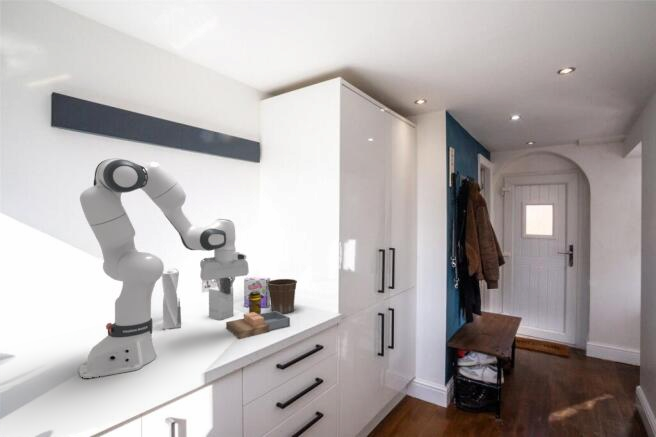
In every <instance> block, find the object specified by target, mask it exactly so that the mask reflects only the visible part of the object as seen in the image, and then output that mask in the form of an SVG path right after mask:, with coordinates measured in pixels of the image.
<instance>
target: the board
mask: <svg viewBox="0 0 656 437" xmlns="http://www.w3.org/2000/svg"><path fill="white" fill-rule="evenodd" d="M225 323H226V324H225V329H226V330H228V331H229V332H230V333H231V334H233V335H234V336H235V338H237V339H238V340H240V339H245V338H250V337H254V336H258V335H262V333H263V334H266V332H267V333H270V331H269V325H268V324H267V323H265V322H264V324H263V325H259V326H254V327H253V326H252V325H250V324H249V323H247V322H246V321H244V318H240V319H234V320H230V321H229V320H228V321H226V322H225Z"/></svg>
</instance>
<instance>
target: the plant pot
mask: <svg viewBox="0 0 656 437" xmlns="http://www.w3.org/2000/svg"><path fill="white" fill-rule="evenodd" d="M297 283H298V280H297V279H293V278H278V279H272V280H271V279H270V281H268V282H267V284H268V288H269V292H270V309H271V311H270V312H273V311H277V312H279V313H281V314H283V315H285V314H289V313H292V312H294V309H295V297H296V288H297Z"/></svg>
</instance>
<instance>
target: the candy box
mask: <svg viewBox="0 0 656 437" xmlns="http://www.w3.org/2000/svg"><path fill="white" fill-rule="evenodd" d="M268 281H271V277H261V276H259V277H257V276H256V277H255V276H247V277H245V278H244V282H243V283H244V285H243V286H244V287H243V288H244V291H243V293H244V294H243V295H244V298H243V299H244V302H243V303H244V304H243V305H244V308H249V298H250V293H251V292H260V297H261V309H262V308H263V309H267V308H269V307H271V301H270V292H269V288H268V284H267V282H268Z"/></svg>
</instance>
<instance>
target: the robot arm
mask: <svg viewBox="0 0 656 437" xmlns="http://www.w3.org/2000/svg"><path fill="white" fill-rule="evenodd" d="M94 170H95V171H94V180H93V186H91V187H88V188H86V189H85V190H83V192H82V193H80V196H79V201H80V206H81V209H82V211H83V214H84V217H85V219H86V222H87V223H88V225H89V227H90V228H91V230H92V233H93V235H94V236H95V238H96V240H97V242H98V244H99V246H100V249H101V253H102V257H103V262H102V263H103V264H102V269H103V272H104V273H105V275H106V276H107V277H109V278H111V279H112V280H115V281H117V282H118V281H119V282H122V286H121V291H120V293H119V296H118V297H117V298H116V299H115V302H114V322H113V323H112V322H108V323H107V324H106V325H105V328H106V330H107V335H106V336H105V337H104V338H103V339H102V340H101V341H99V342H98V343H96V344H95V345H94V346H93V347H92V348H91V350H90V351H89V354H88V358H87V360H86V361H84V362H83V363H81V365H80V367H79V371H78V374H80V375H79V376H81V377H80V378H82V377H83V378H82V379H84V378H89V379H93V378H92V377H95V378H100V377H106V376H110V375H116V374H122V373H126V372H127V373H128V372H132V371H138V370H140V369H141V368H143V367H144V366H145V365H148V364H149V363H151V362H153V361H155V359H156V358H157V353H156V352H155V347H154V343H153V337H152V335H153V331H154V330H153V322H154V321H153V318H152V297H153V291H154V288H155V284H156V282H157V281H159V279H160V278H162V274H163V273H164V272H163V271H165V270H164V269H165V266H164V262H163V261H162V259H161V258H160V257H159V256H156V255H154V254H152V253H149V252H143V251H142V252H141V251H138V250H137V248H136V245H135V236H136V229H135V228H134V226H133V224H132V222H131V219H130V218H129V216H128V213H127V211H126V209H125V208H124V206H123V204H122V203H123V202H122V199H121V198H122V197H121V196H122V194H123V193H130V192H134V191H136V190H139V189H140V190H142V191H143V192H144V193H145V194H146V196H148V197H149V199H150V200H151V201H152V202H153V203H154V204H155V205H156V206H157V207H158V208H159V209H160V211H161V212H162V214H163V215H164V217H165V218H166V219H167V220H168V222H170V224H171V226H172V227H173V228H174V229H175V231H177V233H178V235H179V237H180V240H181V243H182V244H183V246H184V248H186V249H187V250H188V251H189V250H190V251H204V252H205V251H207V252H210V251H213V254H214V256H212V257H205V258H203V259H201V260H200V262H199V264H200V279H201V280H202V281H212V280H214V281H215V283H216V284H217V287H218V289H222V284H220V279H221V278H230V279H231V287H233V288H234V285H233V284H234V282H235V280H236V278H237V277H246V276H248V274H249V272H250V271H249V263H248V261H247V255H246V254H245V253H241V252H239V251H236V245H235V243H236V226H235V224H234V222H233V221H232V220H230V219H226V218H225V219H223V218H216V219H215V221H214V222H212V223H211V224H209V225H206V226H205V227H202V226H200V227H199V226H196V225H194V224H193V223H192V222H191V221H190V220H189V218H188V217H187V215H186V214H185V213H184V212H183V210H182V207H183V205H184V204H185V201H186V198H187V196H186V193H185V190H184V189H183V187H182V185H180V183H179V182H178V180H177V179H176V178H175V177H174V176H173V175H172V174H171V172H169V171H168V169H166V168H165V167H164V166H162V164H160V163H159V162H157V161H152V160H150V161H146V162H143V163H142V164H138V163H135V162H134V161H131V160H127V159H123V158H117V157H115V158H108V159H105V160H103V161H101V162H99V163H98V164H97V166H96V168H95V169H94ZM99 376H100V377H99Z"/></svg>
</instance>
